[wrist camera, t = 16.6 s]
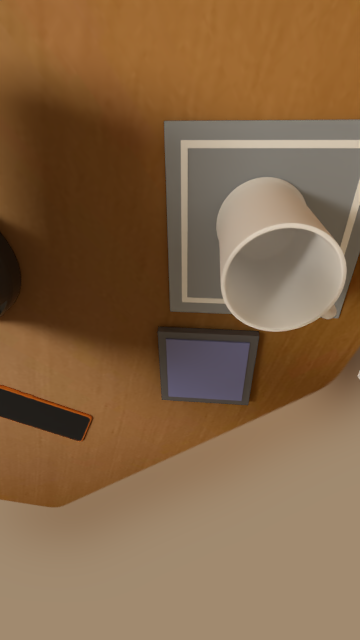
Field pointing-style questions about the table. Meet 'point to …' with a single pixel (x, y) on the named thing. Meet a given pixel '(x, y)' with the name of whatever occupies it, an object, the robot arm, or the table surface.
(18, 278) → the robot arm
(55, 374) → the table surface
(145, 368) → the table surface
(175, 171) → the print mat
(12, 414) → the smartphone
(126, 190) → the table surface
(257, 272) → the mug
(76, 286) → the table surface
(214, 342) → the ink pad
